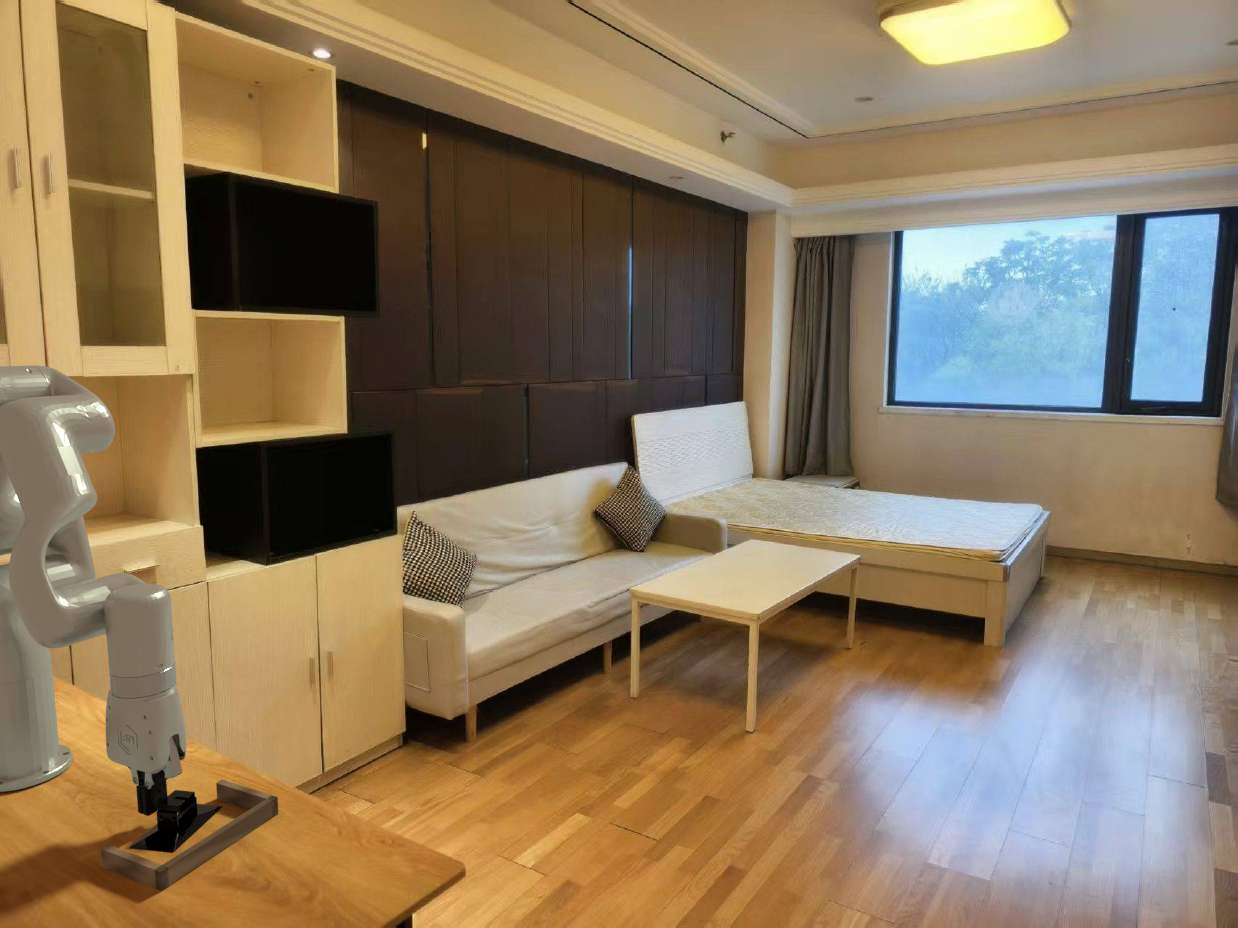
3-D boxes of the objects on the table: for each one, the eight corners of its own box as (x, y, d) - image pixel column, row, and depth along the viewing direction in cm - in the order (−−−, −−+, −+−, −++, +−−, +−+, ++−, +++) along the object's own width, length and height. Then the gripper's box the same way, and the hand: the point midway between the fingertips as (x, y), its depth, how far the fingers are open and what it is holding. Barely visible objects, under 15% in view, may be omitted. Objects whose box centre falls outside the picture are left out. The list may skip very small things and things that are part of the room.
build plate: (172, 861, 107) (169, 827, 106) (119, 855, 108) (116, 821, 107) (230, 806, 119) (228, 775, 118) (182, 801, 120) (180, 771, 119)
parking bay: (102, 867, 104) (100, 848, 104) (222, 795, 121) (222, 779, 120) (161, 891, 100) (160, 871, 100) (278, 813, 116) (277, 796, 116)
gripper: (77, 680, 110) (88, 810, 113) (157, 701, 104) (167, 838, 107) (131, 660, 117) (140, 783, 119) (209, 679, 111) (217, 808, 113)
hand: (153, 809), depth 113 cm, fingers closed
